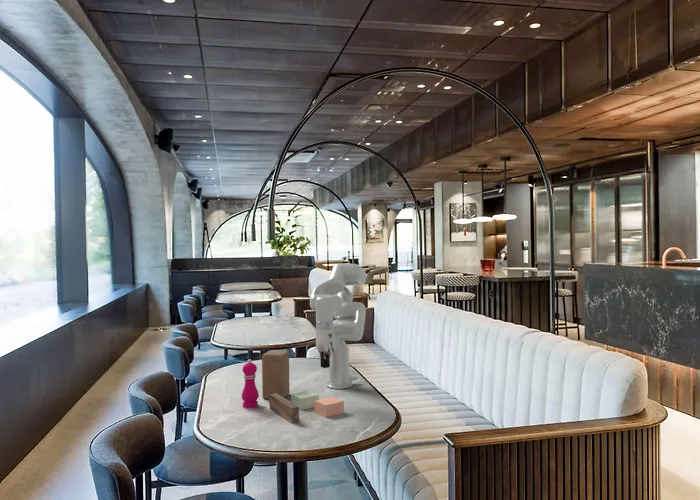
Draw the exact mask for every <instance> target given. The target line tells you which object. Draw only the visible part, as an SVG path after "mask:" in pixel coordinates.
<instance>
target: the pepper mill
mask: <svg viewBox="0 0 700 500" xmlns="http://www.w3.org/2000/svg"><path fill="white" fill-rule="evenodd" d="M257 371H258V366H257V365H256V364H255V363H254V362H252V359H251V358H250V359H248V360H247V363H245V364H244V365H243V366H242V373H243V378H244V386H243V389H242V391H241V399H242V401H243V402H242V407H243V408H244V409H254V408H257V407H258V405H259V404H258V403H259V402H258V399H259V397H260V395H259V390H258V388H257V386H256V381H255V380H256V378H257V377H256V376H257V374H256V373H257Z"/></svg>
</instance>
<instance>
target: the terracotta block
mask: <svg viewBox="0 0 700 500" xmlns="http://www.w3.org/2000/svg"><path fill="white" fill-rule="evenodd" d="M344 402H345V401H344V400H342V399H339V398H336V397H334V396H330V397H326V398H321V399H320V398H319V400H315V401H314V405H315V407H314V413H316V414H317V415H320V416H322V417H324V418H327V417H328V418H329V417H333V416H337V415H340V414H344V413H345V403H344Z"/></svg>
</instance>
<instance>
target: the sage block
mask: <svg viewBox="0 0 700 500" xmlns="http://www.w3.org/2000/svg"><path fill="white" fill-rule="evenodd" d="M315 400H320V394H318V393H316V392H313V391H311V390H305V391H301V392H296V393H291V394H290V402H292V403H293V404H295V405H297V406H299V411H300V410H301V411H302V410H305V409H306V410H307V409H311V408H315V405H314V401H315Z"/></svg>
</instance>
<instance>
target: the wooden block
mask: <svg viewBox="0 0 700 500" xmlns="http://www.w3.org/2000/svg"><path fill="white" fill-rule="evenodd" d="M261 374H262V375H261V376H262V377H261V378H262V381H261V382H262V383H261V386H262V393H261V394H262V399H264V400H270V398H269V394H275V393H276V394H278V395H280V396H281V397H283V398H285V399H286V397H288V395H290V391H291V390H290V352H289V351H288V350H268V351H266V352H265V353H263V354H262V356H261Z"/></svg>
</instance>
